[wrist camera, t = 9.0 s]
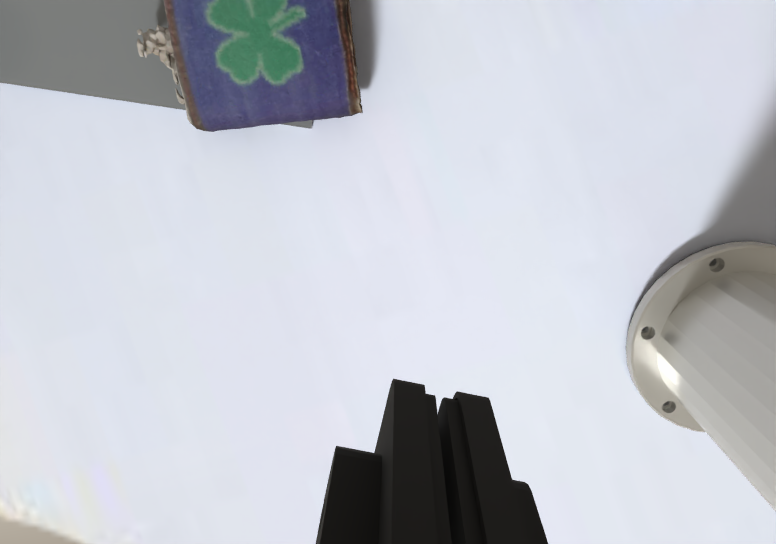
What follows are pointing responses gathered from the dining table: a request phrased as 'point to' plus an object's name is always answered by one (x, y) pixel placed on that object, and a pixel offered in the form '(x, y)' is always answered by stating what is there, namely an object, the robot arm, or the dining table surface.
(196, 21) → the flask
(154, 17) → the slate board
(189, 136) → the dining table surface
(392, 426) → the robot arm
